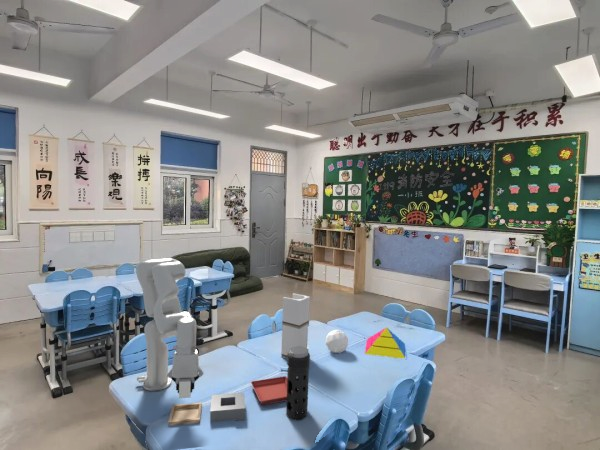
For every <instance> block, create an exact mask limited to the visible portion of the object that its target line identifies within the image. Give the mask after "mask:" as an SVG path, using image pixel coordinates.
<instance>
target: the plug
mask: <svg viewBox="0 0 600 450" xmlns="http://www.w3.org/2000/svg"><path fill="white" fill-rule="evenodd" d="M190 391H191V378H180V379H179V393H178V399H186V398H187V399H188V398H191V394H192V393H191V392H190Z"/></svg>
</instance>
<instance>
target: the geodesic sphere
mask: <svg viewBox="0 0 600 450" xmlns="http://www.w3.org/2000/svg"><path fill="white" fill-rule="evenodd" d="M325 345H326V348H328V350H329V351H330V352H331V353H334V354H341V353H342V352H344V351H346V350H347V348H348V346H349V339H348V337H347V335H346V333H345V332H343V330H340V329H334V330H331V331H330V332H328V334H327V335H326V337H325Z"/></svg>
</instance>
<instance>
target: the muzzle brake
mask: <svg viewBox="0 0 600 450" xmlns="http://www.w3.org/2000/svg"><path fill="white" fill-rule="evenodd" d="M310 362H311V355H310V352H309V349H308V347H307V348H306V347H302V346H295V347H292V348H290V349H289V353H288V354H287V359H286V364H287V371H286V373H287V374H286V375H287V376H286V377H287V400H286V406H285V407H286V410H285V412H286V413H285V415H286V416H287V418H289V419H290V420H293V421H302V420H304V419H306V417H307V416H308V406H309V405H308V403H309V401H308V400H309V396H308V395H309V377H310V376H309V372H310V364H311V363H310ZM291 391H292V392H291Z"/></svg>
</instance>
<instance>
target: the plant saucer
mask: <svg viewBox="0 0 600 450" xmlns="http://www.w3.org/2000/svg"><path fill="white" fill-rule="evenodd" d="M250 384H251V385H252V388H253V390H254V392H255V394H256V396H257V399H258V401H259V403H261V404H262V406H263V405H268V404H275V403H279V402H280V403H281V402H285V401H286V402H287V376H285V375H284V376H277V377H272V378H265V379H264V378H263V379H259V380H258V379H257V380H252V381H251V382H250ZM291 392H292V391H291Z"/></svg>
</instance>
